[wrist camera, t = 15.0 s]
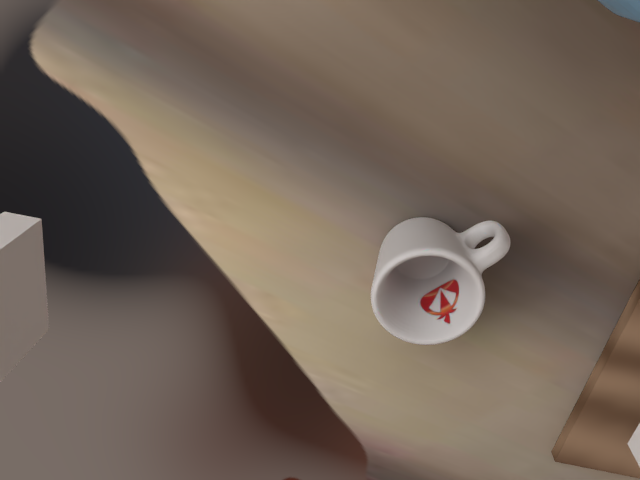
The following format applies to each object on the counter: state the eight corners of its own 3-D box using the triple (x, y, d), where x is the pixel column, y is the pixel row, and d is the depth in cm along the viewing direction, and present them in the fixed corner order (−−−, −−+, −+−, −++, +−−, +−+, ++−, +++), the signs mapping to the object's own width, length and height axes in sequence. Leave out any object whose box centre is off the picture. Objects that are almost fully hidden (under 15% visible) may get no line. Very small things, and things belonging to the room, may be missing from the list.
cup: (469, 166, 42) (487, 207, 35) (518, 244, 44) (545, 296, 37) (353, 236, 46) (348, 285, 38) (404, 304, 48) (409, 362, 41)
